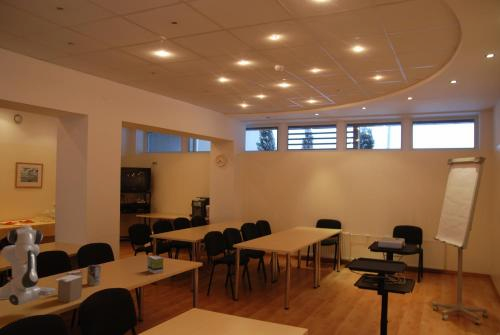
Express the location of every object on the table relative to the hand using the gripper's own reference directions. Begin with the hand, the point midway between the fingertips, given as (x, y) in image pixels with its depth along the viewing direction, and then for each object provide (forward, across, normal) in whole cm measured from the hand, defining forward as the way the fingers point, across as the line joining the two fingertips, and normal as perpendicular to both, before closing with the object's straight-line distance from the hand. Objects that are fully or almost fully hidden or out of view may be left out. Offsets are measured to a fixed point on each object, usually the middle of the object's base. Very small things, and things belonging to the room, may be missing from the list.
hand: (49, 287), depth 272 cm
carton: (+21, 0, +14) cm, 25 cm away
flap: (+19, 0, -2) cm, 19 cm away
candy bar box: (+37, +10, +15) cm, 41 cm away
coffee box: (+61, +10, +15) cm, 64 cm away
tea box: (+119, -17, +15) cm, 121 cm away
